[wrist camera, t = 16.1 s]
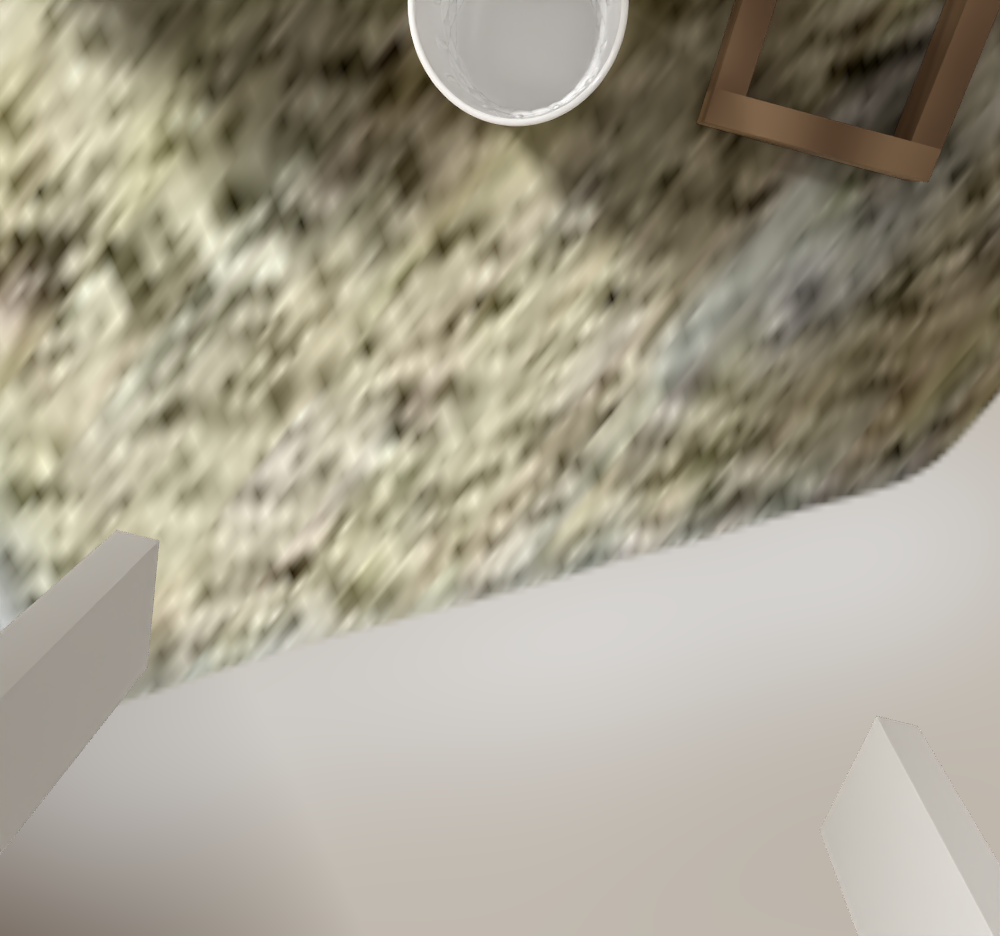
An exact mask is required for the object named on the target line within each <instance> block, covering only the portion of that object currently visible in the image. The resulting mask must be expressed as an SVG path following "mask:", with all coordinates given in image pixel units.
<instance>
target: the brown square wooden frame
mask: <svg viewBox="0 0 1000 936" xmlns="http://www.w3.org/2000/svg"><path fill="white" fill-rule="evenodd" d="M776 2H777V0H735V2H734V5H733V8H732V11H731V15H730V18H729V21H728V24H727V28H726V31H725V34H724V37H723V40H722V44H721V47H720V50H719V53H718V57H717V60H716V63H715V66H714V69H713V73H712V76H711V79H710V82H709V86H708V89H707V92H706V95H705V98H704V102H703V105H702V108H701V111H700V115H699V118H698V121H697V124H700V125H704V126H708V127H711V128H715V129H719V130H722V131H726V132H730V133H733V134H737V135H741V136H745V137H748V138H752V139H756V140H759V141H763V142H767V143H770V144H774V145H778V146H781V147H785V148H789V149H793V150H796V151H800V152H804V153H807V154H811V155H815V156H818V157H822V158H826V159H829V160H833V161H837V162H841V163H844V164H848V165H852V166H855V167H859V168H863V169H866V170H870V171H874V172H877V173H881V174H885V175H889V176H892V177H896V178H900V179H903V180H907V181H922V182H928V181H929V179H930V177H931V174H932V172H933V169H934V167H935V164H936V162H937V160H938V157H939V155H940V152H941V150H942V147H943V145H944V142H945V140H946V138H947V135H948V133H949V130H950V128H951V125H952V123H953V121H954V118H955V116H956V113H957V111H958V108H959V106H960V103H961V101H962V99H963V96H964V94H965V91H966V89H967V86H968V84H969V82H970V79H971V77H972V74H973V72H974V69H975V67H976V64H977V62H978V60H979V57H980V55H981V52H982V50H983V47H984V45H985V43H986V40H987V38H988V35H989V33H990V30H991V28H992V26H993V23H994V21H995V18H996V16H997V13H998V11H999V8H1000V0H946V2H945V5H944V7H943V10H942V12H941V15H940V18H939V20H938V23H937V25H936V28H935V30H934V33H933V36H932V38H931V41H930V43H929V46H928V48H927V51H926V54H925V56H924V59H923V61H922V64H921V66H920V69H919V72H918V74H917V77H916V79H915V82H914V84H913V87H912V90H911V92H910V95H909V97H908V100H907V102H906V105H905V108H904V110H903V113H902V115H901V118H900V120H899V123H898V126H897V128H896V131H895V133H894V136H890V135H886V134H883V133H879V132H875V131H872V130H868V129H864V128H861V127H857V126H853V125H850V124H846V123H842V122H839V121H835V120H831V119H827V118H824V117H820V116H816V115H813V114H809V113H805V112H802V111H798V110H794V109H791V108H787V107H783V106H780V105H776V104H772V103H769V102H765V101H761V100H758V99H754V98H750V97H747V96H746V94H747V91H748V88H749V85H750V82H751V79H752V76H753V73H754V70H755V67H756V64H757V61H758V58H759V54H760V51H761V48H762V45H763V42H764V39H765V36H766V33H767V30H768V27H769V24H770V21H771V18H772V15H773V12H774V8H775V5H776Z"/></svg>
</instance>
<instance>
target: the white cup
mask: <svg viewBox="0 0 1000 936" xmlns="http://www.w3.org/2000/svg"><path fill="white" fill-rule="evenodd" d="M628 8H629V0H408V18H409V25H410V31H411V36H412V40H413V43H414V46H415V49H416V52H417V55H418V57H419V59H420V61H421V64H422V66H423V67H424V69H425V71H426V73H427V74H428V76H429V77H430V79H431V80H432V82H433V83H434V84H435V86H436V87H437V88H438V89H439V90H440V92H441V93H442V94H443V95H444V96H445V97H446V98H447V99H448V100H450V101H451V102H452V103H453V104H454V105H456V106H457V107H458V108H460V109H461V110H463V111H465V112H466V113H468V114H470V115H472V116H474V117H476V118H478V119H481V120H483V121H486V122H490V123H493V124H498V125H505V126H528V125H535V124H539V123H543V122H547V121H550V120H552V119H555V118H557V117H559V116H561V115H563V114H565V113H567V112H569V111H570V110H572V109H573V108H575V107H576V106H578V105H579V104H580V103H581V102H583V101H584V100H585V99H586V98H587V97H588V96H589V95H590V94H591V93H592V92H593V91H594V90H595V89H596V88H597V87H598V86H599V84H600V83H601V82H602V80H603V79H604V78H605V76H606V75H607V73H608V72H609V70H610V68H611V67H612V65H613V63H614V61H615V59H616V57H617V54H618V52H619V49H620V47H621V44H622V41H623V37H624V34H625V29H626V24H627V18H628Z"/></svg>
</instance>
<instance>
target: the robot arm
mask: <svg viewBox="0 0 1000 936" xmlns="http://www.w3.org/2000/svg"><path fill="white" fill-rule="evenodd" d="M158 549H159V540H155V539H151V538H147V537H143V536H139V535H135V534H131V533H127V532H122V531H118V530H116V531H115V532H114V533H113V534H112V535H111V536H109V537H108V538H107V539H106V540H105V541H104V542H103V543H101V544H100V545H99V546H98V547H97V548H96V549H95V550H94V551H92V552H91V553H90V554H89V555H88V556H87V557H86V558H84V559H83V560H82V561H81V562H80V563H79V564H78V565H76V566H75V567H74V568H73V569H72V570H71V571H70V572H68V573H67V574H66V575H65V576H64V577H63V578H62V579H60V580H59V581H58V582H57V583H56V584H55V585H54V586H53V587H51V588H50V589H49V590H48V591H47V592H46V593H45V594H43V595H42V596H41V597H40V598H39V599H38V600H37V601H35V602H34V603H33V604H32V605H31V606H30V607H29V608H27V609H26V610H25V611H24V612H23V613H22V614H21V615H19V616H18V617H17V618H16V619H15V620H14V621H13V622H11V623H10V624H9V625H8V626H7V627H6V628H5V629H4V630H2V631H1V632H0V854H1V853H2V852H3V850H4V849H5V848H6V847H7V845H8V844H9V843H10V842H11V840H12V839H13V838H14V836H15V835H16V834H17V833H18V831H19V830H20V829H21V828H22V826H23V825H24V823H26V821H27V820H28V819H29V817H30V816H31V815H32V813H33V812H34V811H35V810H36V808H37V807H38V806H39V805H40V803H41V802H42V801H43V800H44V798H45V797H46V795H48V793H49V792H50V791H51V789H52V788H53V787H54V786H55V784H56V783H57V782H58V781H59V779H60V778H61V777H62V775H63V774H64V773H65V772H66V770H67V769H68V768H69V767H70V765H71V764H72V763H73V761H74V760H75V759H76V758H77V756H78V755H79V754H80V753H81V751H82V750H83V749H84V747H85V746H86V745H87V744H88V742H89V741H90V740H91V739H92V737H93V736H94V735H95V734H96V732H97V731H98V730H99V729H100V727H101V726H102V725H103V723H104V722H105V721H106V720H107V718H108V717H109V716H110V715H111V713H112V712H113V711H114V709H115V708H116V707H117V706H118V704H119V703H120V702H121V701H122V699H123V698H124V697H125V696H126V694H127V693H128V692H129V690H130V689H131V688H132V687H133V685H134V684H135V683H136V682H137V680H138V679H139V678H140V676H141V675H142V674H143V673H144V671H145V670H146V669H147V667H148V656H149V645H150V635H151V624H152V613H153V603H154V592H155V581H156V570H157V560H158ZM820 833H821V836H822V838H823V841H824V844H825V846H826V849H827V852H828V855H829V858H830V860H831V863H832V866H833V869H834V871H835V874H836V877H837V880H838V882H839V885H840V888H841V891H842V893H843V896H844V899H845V902H846V904H847V907H848V910H849V913H850V915H851V918H852V921H853V924H854V926H855V929H856V932H857V935H858V936H1000V864H999V862H998V861H997V859H996V857H995V856H994V854H993V852H992V850H991V849H990V847H989V846H988V844H987V842H986V840H985V839H984V837H983V835H982V834H981V832H980V830H979V829H978V827H977V825H976V823H975V822H974V820H973V818H972V817H971V815H970V813H969V812H968V810H967V808H966V807H965V805H964V803H963V802H962V800H961V798H960V797H959V795H958V793H957V792H956V790H955V788H954V786H953V785H952V783H951V781H950V780H949V778H948V776H947V775H946V773H945V771H944V770H943V768H942V766H941V765H940V763H939V761H938V759H937V758H936V756H935V755H934V753H933V751H932V750H931V748H930V746H929V744H928V743H927V741H926V739H925V738H924V736H923V734H922V733H921V731H920V729H919V728H918V726H915V725H911V724H907V723H903V722H899V721H894V720H891V719H887V718H882V717H878V716H877V717H876V718H875V720H874V722H873V725H872V726H871V728H870V730H869V732H868V734H867V736H866V738H865V740H864V742H863V744H862V746H861V748H860V750H859V752H858V754H857V756H856V758H855V760H854V762H853V764H852V766H851V768H850V770H849V772H848V774H847V776H846V778H845V780H844V782H843V784H842V786H841V788H840V790H839V792H838V795H837V796H836V798H835V800H834V802H833V804H832V806H831V808H830V810H829V812H828V815H827V816H826V818H825V821H824V822H823V824H822V826H821V828H820Z"/></svg>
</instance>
